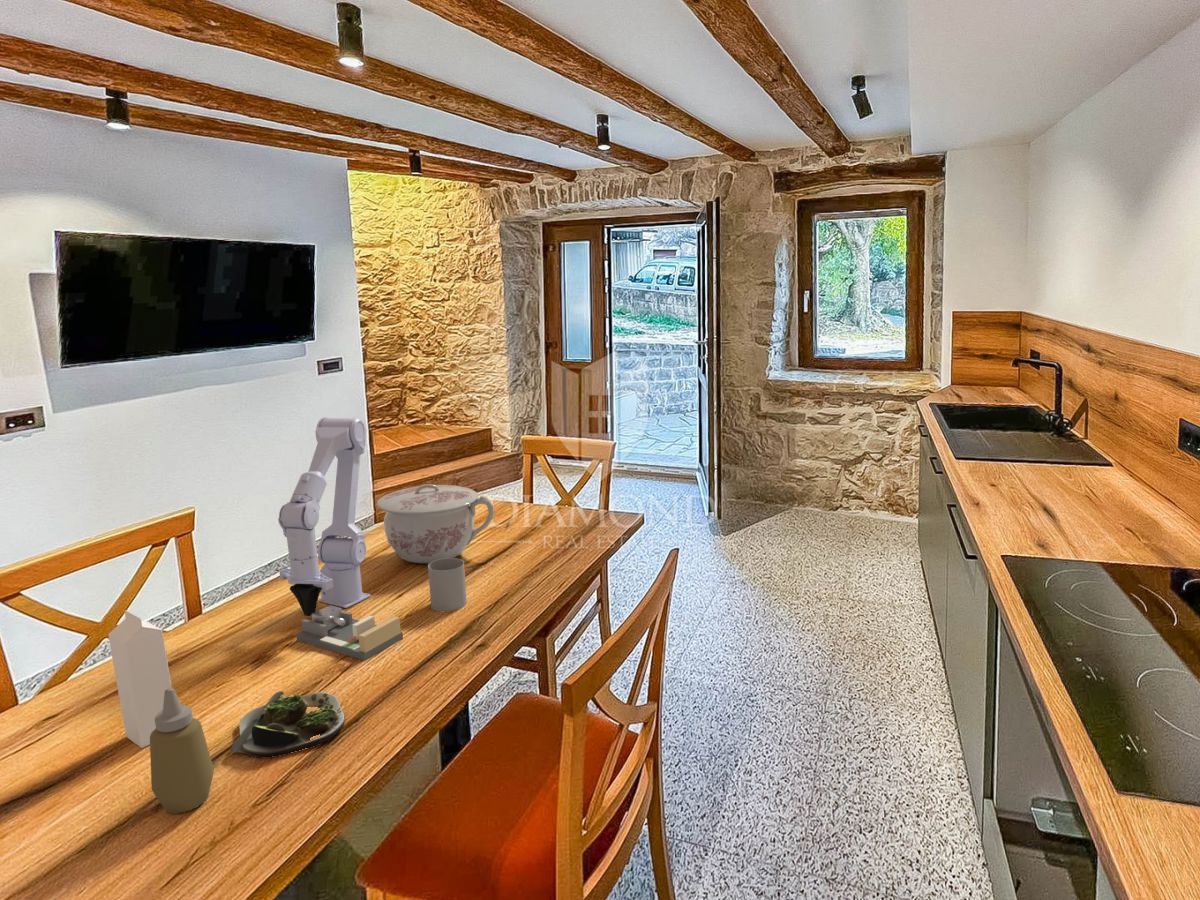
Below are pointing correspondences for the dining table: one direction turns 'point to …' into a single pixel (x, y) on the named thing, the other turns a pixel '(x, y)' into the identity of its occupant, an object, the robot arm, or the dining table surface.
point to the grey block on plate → (329, 617)
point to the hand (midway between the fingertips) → (309, 614)
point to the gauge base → (339, 635)
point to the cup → (447, 584)
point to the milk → (139, 675)
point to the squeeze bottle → (179, 757)
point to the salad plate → (289, 724)
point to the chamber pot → (431, 521)
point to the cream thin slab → (362, 627)
